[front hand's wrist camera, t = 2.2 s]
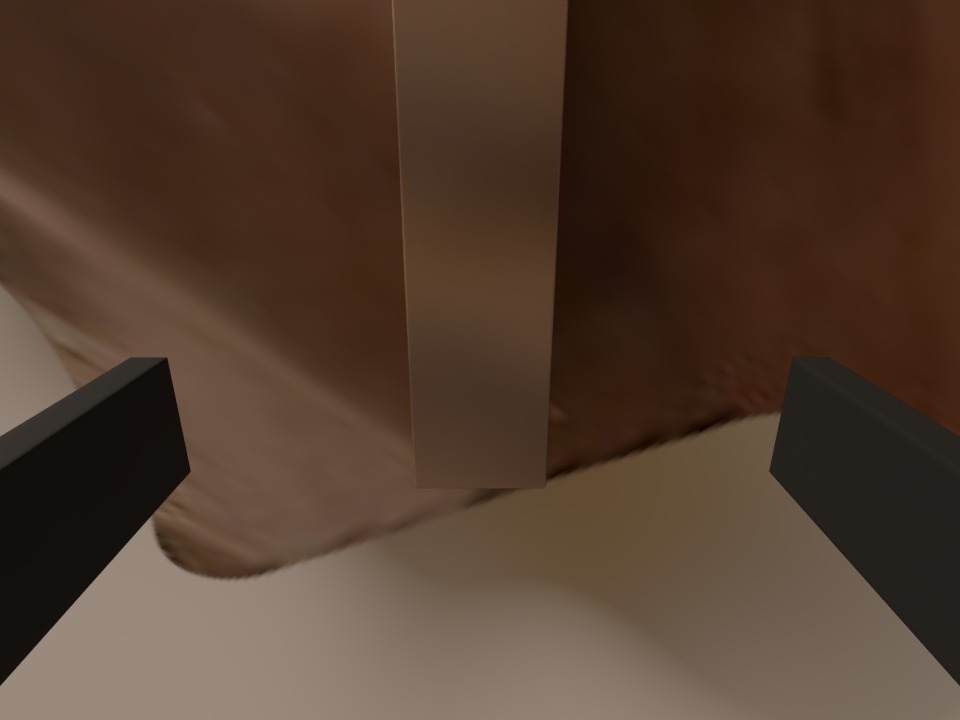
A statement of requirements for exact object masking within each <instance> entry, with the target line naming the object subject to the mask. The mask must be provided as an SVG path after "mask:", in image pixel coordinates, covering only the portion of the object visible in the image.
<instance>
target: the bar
mask: <svg viewBox="0 0 960 720" xmlns="http://www.w3.org/2000/svg"><path fill="white" fill-rule="evenodd" d="M391 2H392V23H393V44H394V65H395V87H396V108H397V129H398V150H399V171H400V192H401V213H402V234H403V256H404V277H405V298H406V319H407V340H408V361H409V382H410V404H411V425H412V446H413V467H414V486H415V488H545V486H546V466H547V445H548V424H549V403H550V382H551V361H552V339H553V318H554V297H555V276H556V255H557V234H558V213H559V192H560V171H561V149H562V128H563V107H564V86H565V65H566V44H567V23H568V2H569V0H391Z"/></svg>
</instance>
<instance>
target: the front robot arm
mask: <svg viewBox="0 0 960 720" xmlns="http://www.w3.org/2000/svg"><path fill="white" fill-rule="evenodd" d="M190 472H191V470H190V466H189V461H188V456H187V451H186V446H185V441H184V437H183V432H182V427H181V422H180V417H179V412H178V408H177V403H176V398H175V393H174V388H173V383H172V378H171V374H170V369H169V364H168V359H167V358H129V359H127V360H126V361H124V362H122V363H121V364H119V365H118V366H116V367H114V368H113V369H111V370H109V371H108V372H106V373H104V374H103V375H101V376H99V377H98V378H96V379H94V380H93V381H91V382H89V383H88V384H86V385H85V386H83V387H81V388H80V389H78V390H76V391H75V392H73V393H71V394H70V395H68V396H66V397H65V398H63V399H61V400H60V401H58V402H56V403H55V404H53V405H52V406H50V407H48V408H47V409H45V410H43V411H42V412H40V413H38V414H37V415H35V416H33V417H32V418H30V419H29V420H27V421H25V422H24V423H22V424H20V425H19V426H17V427H15V428H14V429H12V430H10V431H9V432H7V433H5V434H4V435H2V436H0V686H1V684H2V683H3V682H4V681H5V680H6V679H7V678H8V677H9V675H10V674H11V673H12V672H13V671H14V670H15V669H16V668H17V666H18V665H19V664H20V663H21V662H22V661H23V660H24V658H25V657H26V656H27V655H28V654H29V653H30V652H31V651H32V650H33V648H34V647H35V646H36V645H37V644H38V643H39V642H40V641H41V639H42V638H43V637H44V636H45V635H46V634H47V633H48V632H49V630H50V629H51V628H52V627H53V626H54V625H55V624H56V622H57V621H58V620H59V619H60V618H61V617H62V616H63V615H64V614H65V612H66V611H67V610H68V609H69V608H70V607H71V606H72V605H73V603H74V602H75V601H76V600H77V599H78V598H79V597H80V596H81V594H82V593H83V592H84V591H85V590H86V589H87V588H88V586H89V585H90V584H91V583H92V582H93V581H94V580H95V579H96V578H97V576H98V575H99V574H100V573H101V572H102V571H103V570H104V569H105V567H106V566H107V565H108V564H109V563H110V562H111V561H112V560H113V558H114V557H115V556H116V555H117V554H118V553H119V552H120V551H121V549H122V548H123V547H124V546H125V545H126V544H127V543H128V542H129V540H130V539H131V538H132V537H133V536H134V535H135V534H136V532H137V531H138V530H139V529H140V528H141V527H142V526H143V525H144V523H145V522H146V521H147V520H148V519H149V518H150V517H151V516H152V514H153V513H154V512H155V511H156V510H157V509H158V508H159V507H160V505H161V504H162V503H163V502H164V501H165V500H166V499H167V498H168V496H169V495H170V494H171V493H172V492H173V491H174V490H175V489H176V487H177V486H178V485H179V484H180V483H181V482H182V481H183V480H184V478H185V477H186V476H187V475H188V474H189V473H190ZM769 472H770V473H771V474H772V475H773V476H774V477H775V478H776V480H777V481H778V482H779V483H780V484H781V485H782V486H783V487H784V489H785V490H786V491H787V492H788V493H789V494H790V495H791V496H792V498H793V499H794V500H795V501H796V502H797V503H798V504H799V505H800V507H801V508H802V509H803V510H804V511H805V512H806V513H807V514H808V516H809V517H810V518H811V519H812V520H813V521H814V522H815V523H816V525H817V526H818V527H819V528H820V529H821V530H822V531H823V532H824V534H825V535H826V536H827V537H828V538H829V539H830V540H831V542H832V543H833V544H834V545H835V546H836V547H837V548H838V549H839V551H840V552H841V553H842V554H843V555H844V556H845V557H846V558H847V559H848V561H849V562H850V563H851V564H852V565H853V566H854V567H855V569H856V570H857V571H858V572H859V573H860V574H861V575H862V576H863V578H864V579H865V580H866V581H867V582H868V583H869V584H870V585H871V587H872V588H873V589H874V590H875V591H876V592H877V593H878V594H879V595H880V597H881V598H882V599H883V600H884V601H885V602H886V603H887V604H888V606H889V607H890V608H891V609H892V610H893V611H894V612H895V614H896V615H897V616H898V617H899V618H900V619H901V620H902V621H903V623H904V624H905V625H906V626H907V627H908V628H909V629H910V630H911V632H912V633H913V634H914V635H915V636H916V637H917V638H918V639H919V641H920V642H921V643H922V644H923V645H924V646H925V647H926V648H927V650H928V651H929V652H930V653H931V654H932V655H933V656H934V657H935V659H936V660H937V661H938V662H939V663H940V664H941V665H942V666H943V668H944V669H945V670H946V671H947V672H948V673H949V674H950V675H951V677H952V678H953V679H954V680H955V681H956V682H957V683H958V684H959V686H960V436H958V435H956V434H955V433H953V432H951V431H950V430H948V429H946V428H945V427H943V426H941V425H940V424H938V423H937V422H935V421H933V420H932V419H930V418H928V417H927V416H925V415H923V414H922V413H920V412H918V411H917V410H915V409H913V408H912V407H910V406H908V405H907V404H905V403H904V402H902V401H900V400H899V399H897V398H895V397H894V396H892V395H890V394H889V393H887V392H885V391H884V390H882V389H880V388H879V387H877V386H875V385H874V384H872V383H871V382H869V381H867V380H866V379H864V378H862V377H861V376H859V375H857V374H856V373H854V372H852V371H851V370H849V369H847V368H846V367H844V366H842V365H841V364H839V363H838V362H836V361H834V360H833V359H831V358H793V359H792V364H791V369H790V374H789V378H788V383H787V388H786V393H785V398H784V403H783V408H782V412H781V417H780V422H779V427H778V432H777V437H776V441H775V446H774V451H773V456H772V461H771V466H770V470H769Z"/></svg>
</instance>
